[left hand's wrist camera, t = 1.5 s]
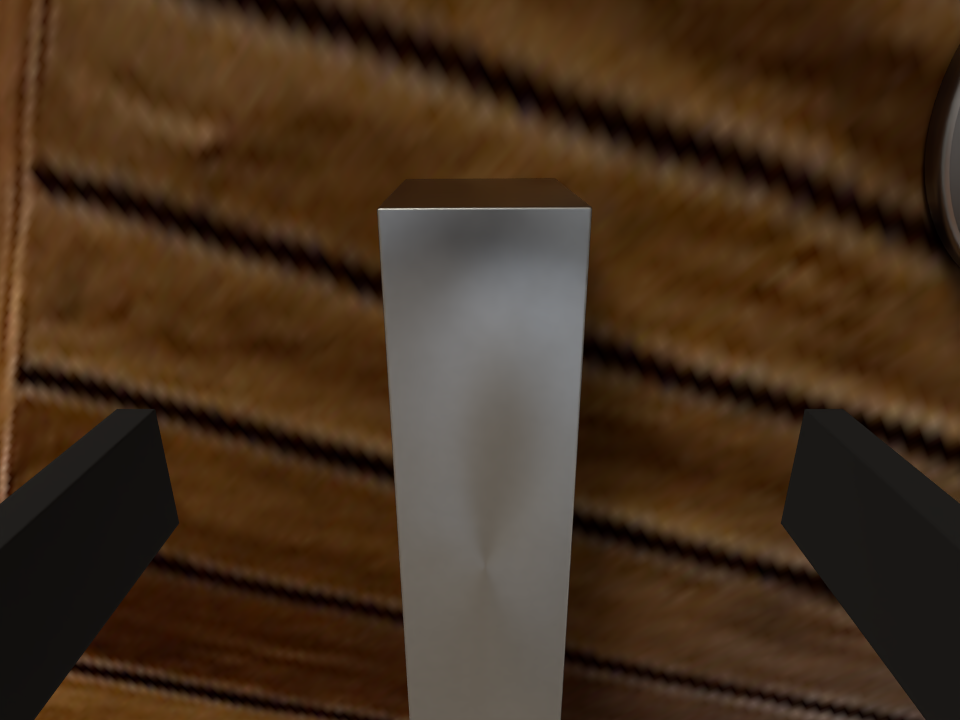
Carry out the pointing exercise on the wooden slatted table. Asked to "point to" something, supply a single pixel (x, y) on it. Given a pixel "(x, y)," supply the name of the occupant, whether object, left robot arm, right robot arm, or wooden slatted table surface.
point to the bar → (484, 435)
